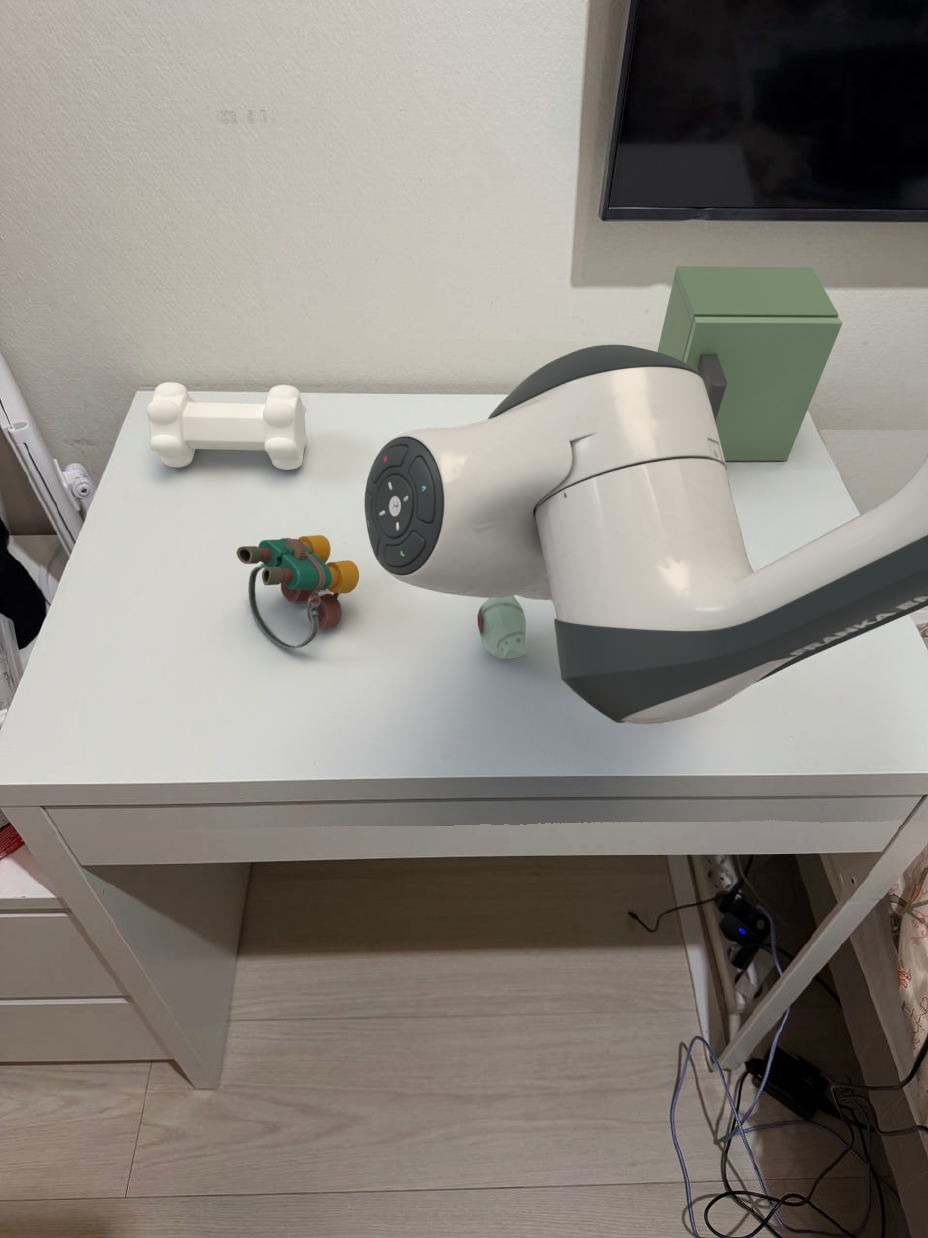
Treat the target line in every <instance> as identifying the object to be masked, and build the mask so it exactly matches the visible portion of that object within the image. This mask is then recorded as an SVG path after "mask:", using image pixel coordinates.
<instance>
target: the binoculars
mask: <svg viewBox="0 0 928 1238" xmlns="http://www.w3.org/2000/svg"><path fill="white" fill-rule="evenodd" d="M331 552H332V551H331V543H330V541H329V539H328V538H327V537H326V536H325V535H322V534H315V535H303V536H300V537H298V538H291V537H282V538H279V539H263V540H261V541H260V542H259V544H258V546H256V545H251V546H250V545H249V546H248V545H247V546H245V545H244V546H243V545H242V546H239V547H238V548H237V550H236V556H237V559H238V560H239V561H240V562H241V563H243V564H245V565H256V564H259V563H260V565H258V566H255V567H253V569H252V570H251V572H250V574H249V577H248V592H247V593H248V602H249V607H250V610H251V613H252V616H253V618H254V620H255V622H256V623H257V625H258V627H259V628H260V629H261V631H262V632H263V634H264V635H265V636H266V637H267V638H268V639H269V640H270V641H272V642H273V643H274V644H275V645H278V646H279V647H282V648H284V649H288V650H294V649H300V648H303V647H305V646H307V645H309V644H310V643H311V642H312V641H314V639H315V638H316V637H317V635H318V633H319V630H320V629H333V628H336V627H338V626H339V624H340V623H341V621H342V617H343V616H342V615H343V610H342V606H341V603H340V601H339V599H338V598H339V596H340V594H349V593H351V592H353V591H354V590H355V589H356V588H357V585H358V584H359V580H360V571H359V567H358V566H357V564H356V563H355V562H354V561H352V560H349V559H347V560H338V561H329V562H328V560H329V558H330V556H331ZM262 569H263V570H262ZM261 570H262V571H261ZM260 571H261V573H262V574H261V580H262V583H263V585H264V586H277V585H280V591H281V594H282V596H283V597H284V599H285V600H286V601H288V602H290V603H291V602H293V603H294V602H295V603H296V602H297V603H298V602H299V603H300V602H303V603H306V602H307V603H306V605H307V608H306V613H307V619H308V621H309V622H310V624H311V631H310V633H309V635H308V637H307V638H306V639H305V640H304V641H302V642H301V643H299V644H297V645H291V644H288V643H286V642H285V641H283V640H281V639H279V638H278V637H277V636H276V635H275V634H274V633H273V632H272V631H271V630H270V628H268V626H267V624H266V623H265V620H264V619H263V617H262V615H261V613H260V611H259V608H258V604H257V598H256V582H257V581H256V580H257V577H258V573H259V572H260ZM326 590H327V591H328V593H324V594H321V595H319V594H320V593H321V591H323V592H324V591H326ZM329 592H330V593H329Z"/></svg>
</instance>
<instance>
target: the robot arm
mask: <svg viewBox="0 0 928 1238" xmlns="http://www.w3.org/2000/svg"><path fill="white" fill-rule="evenodd" d="M726 462H727V461H725V458H724V454H723V451H722V447H721V443H720V439H719V435H718V431H717V427H716V423H715V419H714V415H713V411H712V408H711V404H710V400H709V397H708V394H707V391H706V388H705V380H704V378H703V376H702V375H701V374H699V373H698V372H697V371H696V370H695V369H693V368H692V367H690V366H689V365H687V364H686V363H684V362H682V361H680V360H678V359H676V358H673V357H671V356H668V355H665V354H662V353H659V352H657V351H655V350H651V349H647V348H643V347H637V346H632V345H625V344H600V345H593V346H588V347H584V348H583V347H582V348H581V349H577V350H575V351H572V352H569V353H567V354H565V355H562V356H560V357H558V358H556V359H554V360H551V361H550V362H548V363H546V364H544V365H543V366H542V367H540V368H538V369H537V370H535V371H534V372H532V374H530V375H529V376H528V377H526V378H525V379H523V381H522V382H520V383H519V384H518V385H517V386H516V387H515V388H514V389H513V390H512V391H511V392H510V393H509V394H508V395H507V396H506V397H505V398H504V399H503V400H502V401H501V402H500V403H499V404H498V405H497V406H496V407H495V408H494V410H493V411H492V412H491V414H490V415H489V416H488V418H486V419H484V420H481V421H478V422H477V421H476V422H474V423H471V424H466V425H461V426H453V427H439V428H434V427H433V428H419V429H413V430H408V431H405V432H403V433H401V434H399V435H397V436H395V437H393V438H392V439H390V440H388V442H386V443H385V445H384V446H383V447H382V448H381V449H380V451H378V453H377V455H376V456H375V458H374V460H373V462H372V465H371V467H370V470H369V473H368V476H367V479H366V486H365V490H364V515H365V517H364V518H365V523H366V529H367V535H368V540H369V544H370V547H371V549H372V552H373V554H374V557H375V559H376V561H377V562H378V563H379V565H380V566H381V567H382V568H383V569H384V570H385V572H386V573H388V574H389V575H390V576H392V577H393V578H395V579H396V580H399V581H400V582H403V583H405V584H407V585H410V586H414V587H417V588H420V589H424V590H427V591H432V592H437V593H443V594H448V595H454V596H461V597H471V598H472V597H473V598H485V599H488V598H503V597H509V596H513V595H514V596H518V597H521V598H524V599H529V600H536V601H537V600H538V601H542V600H543V601H552V603H553V608H554V613H555V618H554V619H553V623H554V631H555V632H554V633H555V641H556V648H557V656H558V657H557V658H558V664H559V675H560V679H561V680H562V681H563V682H564V683H565V685H567V686H568V687H569V688H570V689H571V690H572V691H573V692H574V693H575V694H576V695H577V696H578V697H580V699H582V700H583V701H584V702H585V703H586V704H588V705H589V706H591V707H592V708H593V709H595V710H596V711H597V712H599V713H600V714H602V715H603V716H605V717H606V718H608V719H609V720H611V721H612V722H615V723H616V724H624V723H627V724H628V723H629V724H635V725H653V724H654V725H655V724H664V723H669V722H676V721H679V720H685V719H688V718H691V717H694V716H696V715H700V714H702V713H705V712H708V711H710V710H712V709H714V708H716V707H718V706H720V705H722V704H724V703H726V702H728V701H729V700H731V699H732V698H735V697H736V696H737V695H739V694H740V693H741V692H743V691H745V690H746V689H748V688H749V687H750V686H752V685H754V684H756V683H759V682H760V681H762V680H764V679H766V678H769V677H771V676H773V675H775V674H776V673H779V672H781V671H783V670H784V669H787V668H789V667H790V666H793V665H795V664H797V663H800V662H802V661H803V660H806V659H808V658H810V657H812V656H815V655H818V654H819V653H822V652H825V651H826V650H829V649H831V648H833V647H836V646H838V645H840V644H842V643H845V642H847V641H850V640H852V639H854V638H856V637H859V636H862V635H864V634H866V633H869V632H870V631H873V630H875V629H878V628H879V627H882V626H884V625H886V624H887V625H888V624H889V623H891V622H894V621H896V620H898V619H901V618H903V617H906V616H908V615H910V614H912V613H915V612H917V611H919V610H922V609H924V608H927V607H928V454H927V456H926V458H925V459H924V460H923V462H921V465H920V466H919V468H918V469H917V470H916V472H915V473H914V474H913V475H912V477H910V478H909V480H908V481H907V482H906V483H905V484H904V485H903V486H902V487H901V488H900V489H899V490H898V491H896V492H895V493H894V494H893V495H891V496H890V497H888V498H887V499H886V500H884V501H883V502H881V503H880V504H878V505H876V506H875V507H873V508H871V509H869V510H867V511H865V512H863V513H861V514H859V515H857V516H856V517H854V518H852V519H850V520H847V522H845V523H843V524H841V525H839V526H837V527H835V528H834V529H832V530H829V531H828V532H825V533H824V534H822V535H820V536H819V537H817V538H815V539H813V540H811V541H810V542H808V543H806V544H804V545H802V546H800V547H799V548H796V549H795V550H793V551H790V553H787V554H785V555H784V556H782V557H780V558H778V559H776V560H774V561H773V562H771V563H769V564H767V565H765V566H763V567H761V568H760V569H758V570H756V571H754V569H753V568H752V565H751V562H750V560H749V557H748V554H747V550H746V546H745V542H744V538H743V534H742V529H741V526H740V522H739V518H738V514H737V510H736V505H735V502H734V497H733V494H732V490H731V486H730V481H729V477H728V474H727V473H728V472H727V468H728V467H727V463H726Z"/></svg>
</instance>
